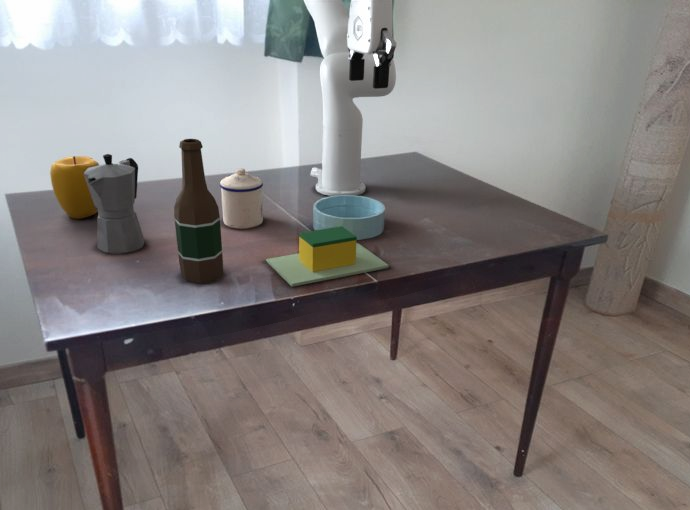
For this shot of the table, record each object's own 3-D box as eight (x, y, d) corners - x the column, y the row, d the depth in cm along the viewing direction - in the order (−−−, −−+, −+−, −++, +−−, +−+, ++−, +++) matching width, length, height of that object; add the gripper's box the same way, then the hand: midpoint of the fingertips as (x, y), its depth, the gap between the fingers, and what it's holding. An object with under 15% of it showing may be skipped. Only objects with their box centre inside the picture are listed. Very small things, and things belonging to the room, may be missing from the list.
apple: (111, 220, 138) (101, 161, 131) (58, 225, 135) (46, 165, 128) (107, 204, 147) (98, 148, 140) (58, 209, 144) (46, 151, 137)
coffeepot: (123, 261, 120) (108, 165, 110) (81, 254, 122) (62, 160, 113) (164, 233, 132) (154, 145, 123) (125, 227, 135) (112, 141, 125)
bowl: (299, 231, 135) (299, 208, 132) (337, 212, 145) (338, 190, 143) (360, 247, 128) (361, 224, 125) (396, 226, 138) (397, 204, 136)
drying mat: (291, 286, 112) (291, 283, 111) (266, 261, 121) (266, 258, 120) (388, 268, 119) (388, 265, 119) (357, 245, 128) (358, 242, 128)
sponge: (312, 272, 116) (312, 244, 113) (299, 260, 120) (299, 232, 117) (355, 264, 119) (356, 236, 116) (340, 252, 124) (341, 225, 121)
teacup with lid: (271, 224, 138) (270, 171, 132) (234, 232, 133) (231, 178, 127) (244, 209, 146) (242, 158, 140) (209, 216, 142) (205, 164, 135)
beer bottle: (182, 266, 118) (168, 134, 105) (224, 266, 119) (216, 134, 106) (178, 285, 111) (162, 146, 99) (222, 284, 112) (213, 146, 100)
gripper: (334, -16, 123) (332, 78, 132) (379, -12, 110) (373, 92, 119) (367, -16, 126) (363, 76, 135) (415, -12, 113) (406, 90, 122)
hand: (368, 84), depth 127 cm, fingers open, 9 cm apart
